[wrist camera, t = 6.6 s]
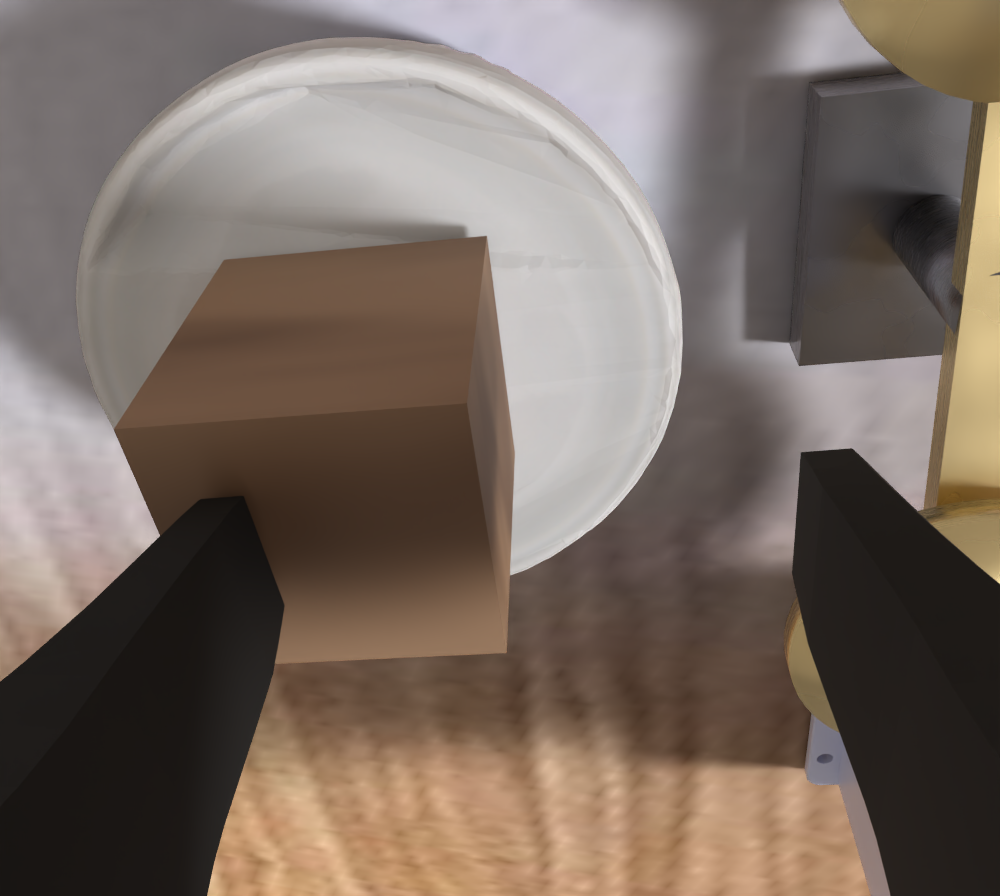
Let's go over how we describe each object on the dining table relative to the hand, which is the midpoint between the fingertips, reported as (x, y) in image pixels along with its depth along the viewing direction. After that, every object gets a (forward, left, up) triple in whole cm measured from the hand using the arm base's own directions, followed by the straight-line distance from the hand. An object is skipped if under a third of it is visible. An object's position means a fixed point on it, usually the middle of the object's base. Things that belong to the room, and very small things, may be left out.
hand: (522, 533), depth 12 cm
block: (0, +3, -5) cm, 6 cm away
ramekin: (-1, +3, -11) cm, 11 cm away
